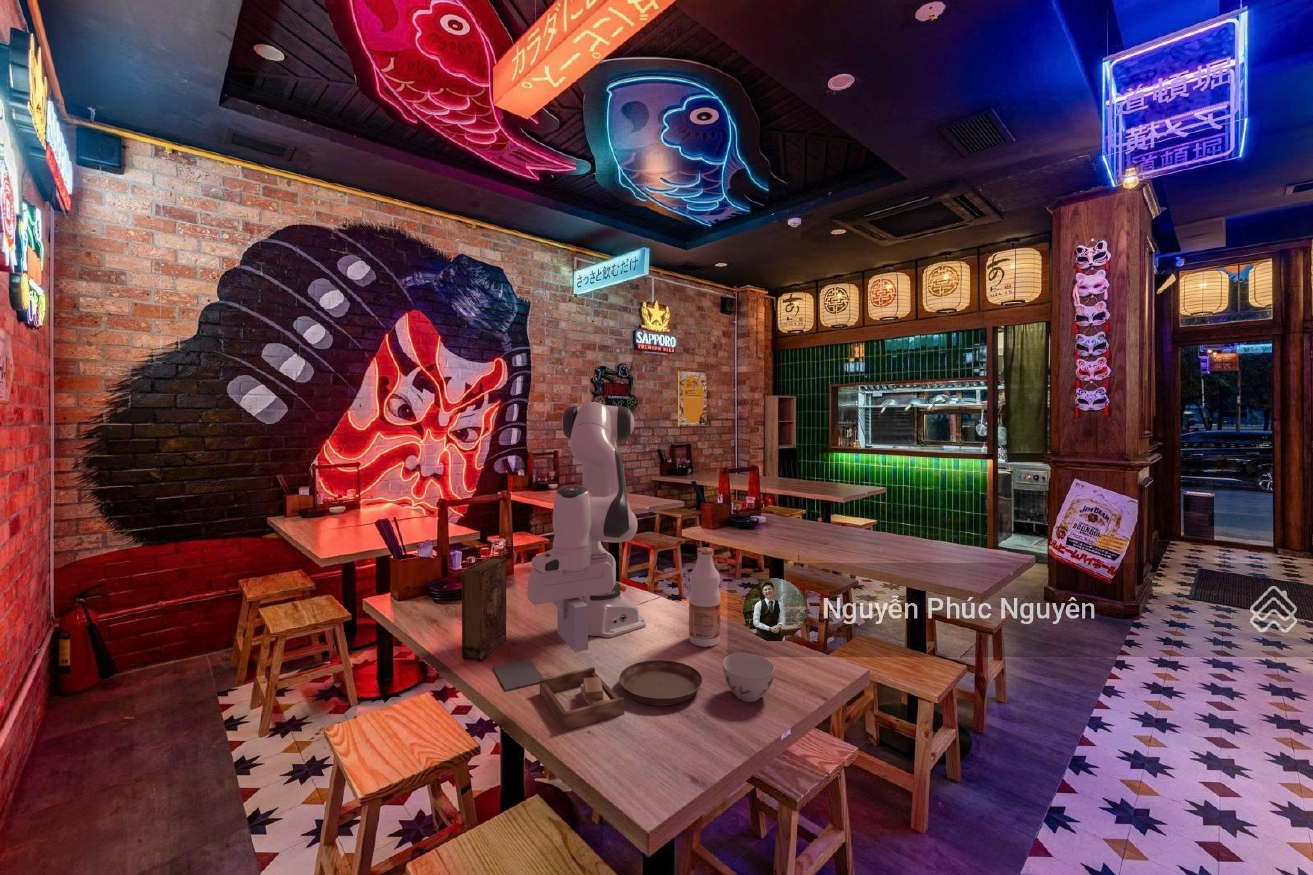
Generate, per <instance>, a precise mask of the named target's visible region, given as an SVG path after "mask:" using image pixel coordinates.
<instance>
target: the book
mask: <svg viewBox="0 0 1313 875" xmlns="http://www.w3.org/2000/svg"><path fill="white" fill-rule="evenodd" d="M506 642H507V558H506V557H503V556H490V557H487V558H486V559H484V560H481V561H479V562H477V563H475V564H473V565H471V566H468V567H467V568H465V569H463V570H462V572H461V656H462V659H463V660H469V659H470V660H471V659H473V660H476V661H477V660H478V661H479V662H482V661H484V660H486V659H487V658H488V657H489V656H490V655H491V654H493V653H494V652H495V651H497V649H498V648H500V647H501V646H502V645H504V644H505V643H506Z"/></svg>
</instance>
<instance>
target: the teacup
mask: <svg viewBox="0 0 1313 875" xmlns="http://www.w3.org/2000/svg"><path fill="white" fill-rule="evenodd" d="M722 670H723V675H724V679H725V682H726V683H727V686H728V688H729V690H730V691H731V692H732V693H733V694H734V695H735V696H736V697H737V699H738V700H741V701H743V702H747V703H753V702H757V701H759V699H760V698H761V697H763V696H764V695H766V693H767V692H768V691H769V689H770V688H771V686H772V684H773V681H774V677H775V671H776V666H775V664H774V663H773V660H772V659H771V660H770V659H769V658H767V657H765V656H761V655H758V654H754V653H749V652H737V653H731V654H729V655H727V656H726V657H725V658H723V661H722Z"/></svg>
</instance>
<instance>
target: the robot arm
mask: <svg viewBox="0 0 1313 875" xmlns="http://www.w3.org/2000/svg"><path fill="white" fill-rule="evenodd" d="M561 428H562V432H563V435H564V436H565V437H566V438H567V439H570V440H569V444H570V446H569V448H570V452H571V455H572V456H573V458H574V459H576V461H577V462H578V463H580V464H581V465H582V479H581V480H582V481H581V482H582V485H581V486H580V485H567V486H563V487H560V488H559V489H557V490H556V492H555V494H554V499H553V500H554V501H553V507H552V508H553V509H552V517H551V518H552V519H551V520H552V529H553V533H554V536H553V537H554V538H553V541H552V548H551V549H549V550H547V551H545V552H543V553H541V554H538V555H536V556H534V557H533V558H532V559H531V565H532V566H533V568H532V569H531V571H530V573H529V576H528V581H527V594H526V595H527V599H528V600H529V602H530V603H532V604H533V605H534V606H535V605H536V606H537V605H542V604H548V603H553V604H554V606H555V607H556V609H557V611H558V610H559V618H560V619H565V618H567V610H566V609H562V607H561V606H560V605H562V604H563V600H567V599H573V598H580V599H581V600H582V601H583V602H585V603H586V604H587V605H588V636H594V637H595V636H596V637H601V638H608V639H609V638H614V637H616V636H619V635H623V634H625V633H628V632H629V633H630V632H632V631H635V630H636V631H637V630H639V629H642V628H646V624H647V623H646V620H645V619H644V618H643V616H641V615H639V609H638V607H637V605H636V603H635V602H633V601H632V599H630V598H628V597H627V596H625V595H624V594H623V593H625V592H626V591H627V590H628V589H627V586H626V585H625V584H622V583H619V582H618V581H616V580H617V579H616V577H617V576H616V574H617V570H616V568H617V566H616V565H617V562H616V559H615V557H614V556H613V555H612V554H611V553H610V552H609V551H607V550H606V549H605V548H604V547H603V545H602V542H605V543H623V542H630V541H631V540H632V539H633V538H634V537H635V535H636V533H637V531H638V525H639V524H638V519H637V516H636V515H635V513H634V512H633V510H632V509H631V506H630V503H629V500H628V496H627V485H626V484H627V483H626V478H625V477H626V476H625V475H626V474H625V471H624V470H625V469H624V468H625V467H624V465H623V458H622V454H621V451H620V449H619V448H617V447H618V446H617V441H618V445H622V444H623V443H622V442H624V441H627V440H628V439H630V438H631V436H632V434H633V432H634V429H635V418H634V414H633V412H632V410H631V408H629V407H627V406H626V407H625V406H622V405H619V406H615V405H608V404H607V405H606V404H603V403H600V402H598V401H597V402H596V401H589V402H586V403H585V404H583V405H581V406H579V405H571V406H569V407H567V408H566V409H565V410H564V412H563V415H562V418H561ZM590 495H591V496H590Z"/></svg>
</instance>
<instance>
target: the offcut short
mask: <svg viewBox="0 0 1313 875" xmlns="http://www.w3.org/2000/svg"><path fill="white" fill-rule="evenodd" d="M601 679H602V678H601V676H599V677H592V678H584V692H585V698H584V700H585V702H587V701H592V700H602V699H603V688H602V683H601Z"/></svg>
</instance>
